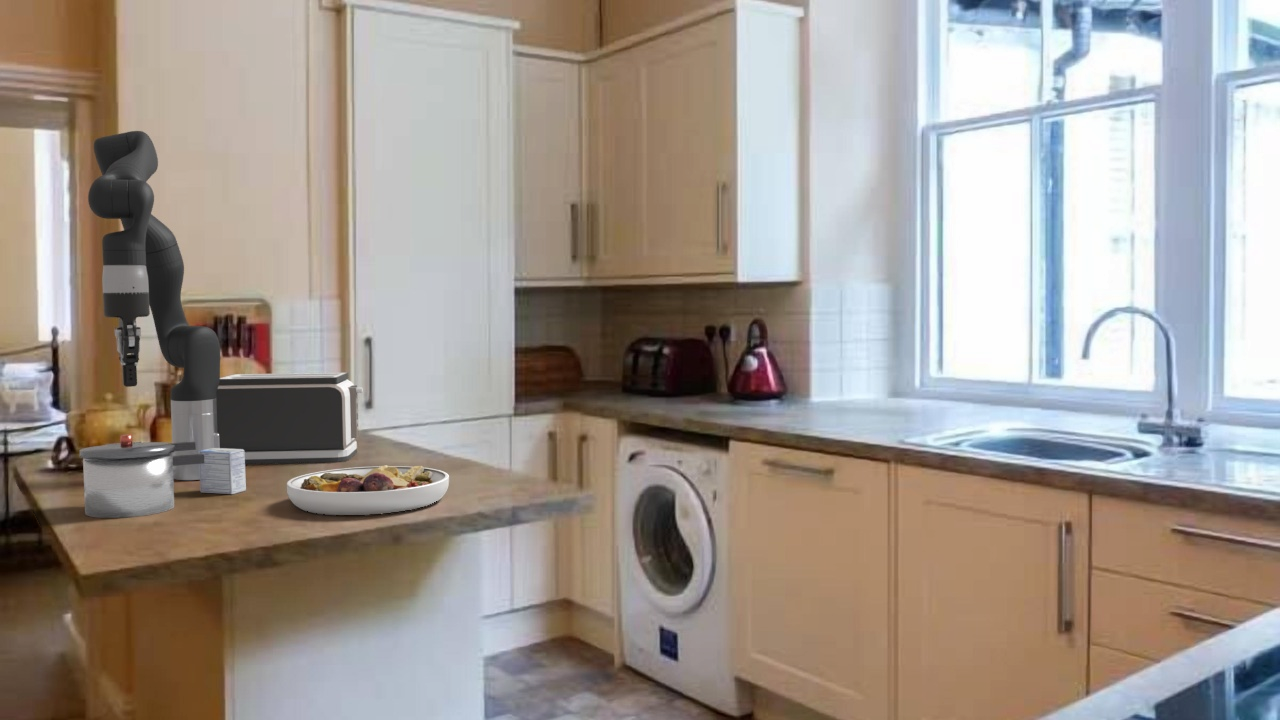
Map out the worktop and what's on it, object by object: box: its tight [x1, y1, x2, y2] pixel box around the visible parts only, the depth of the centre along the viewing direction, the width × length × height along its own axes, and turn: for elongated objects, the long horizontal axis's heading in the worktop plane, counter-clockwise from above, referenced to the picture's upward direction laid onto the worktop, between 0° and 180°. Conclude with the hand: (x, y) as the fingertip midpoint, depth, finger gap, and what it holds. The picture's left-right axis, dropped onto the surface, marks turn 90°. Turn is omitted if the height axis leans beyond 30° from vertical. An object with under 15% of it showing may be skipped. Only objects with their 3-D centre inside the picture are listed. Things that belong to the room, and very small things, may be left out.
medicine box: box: [199, 448, 247, 495], centre depth 217 cm, size 8×4×9 cm, turn 71°
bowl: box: [286, 464, 450, 516], centre depth 204 cm, size 30×30×8 cm
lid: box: [79, 434, 196, 459], centre depth 200 cm, size 20×17×3 cm
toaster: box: [216, 372, 364, 466], centre depth 262 cm, size 19×35×20 cm, turn 96°
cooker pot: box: [82, 452, 204, 519], centre depth 201 cm, size 20×17×10 cm
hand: (130, 386), depth 195 cm, fingers closed
